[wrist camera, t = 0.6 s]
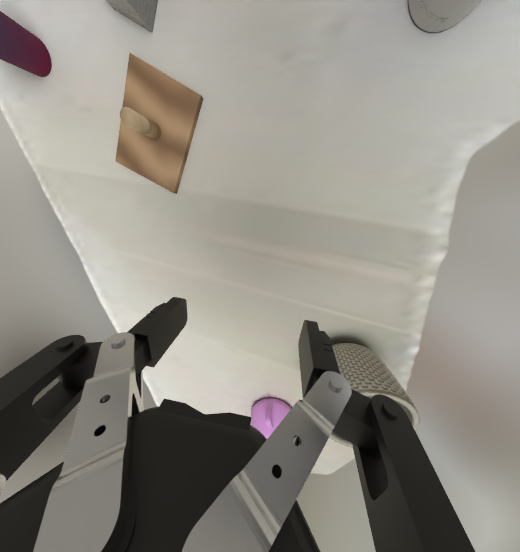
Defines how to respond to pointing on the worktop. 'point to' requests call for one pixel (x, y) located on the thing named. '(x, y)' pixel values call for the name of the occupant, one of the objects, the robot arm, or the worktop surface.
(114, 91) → the worktop surface
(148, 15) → the collar
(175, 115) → the post board
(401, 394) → the planter
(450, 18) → the robot arm
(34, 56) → the cup
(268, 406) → the teapot
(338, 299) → the worktop surface
